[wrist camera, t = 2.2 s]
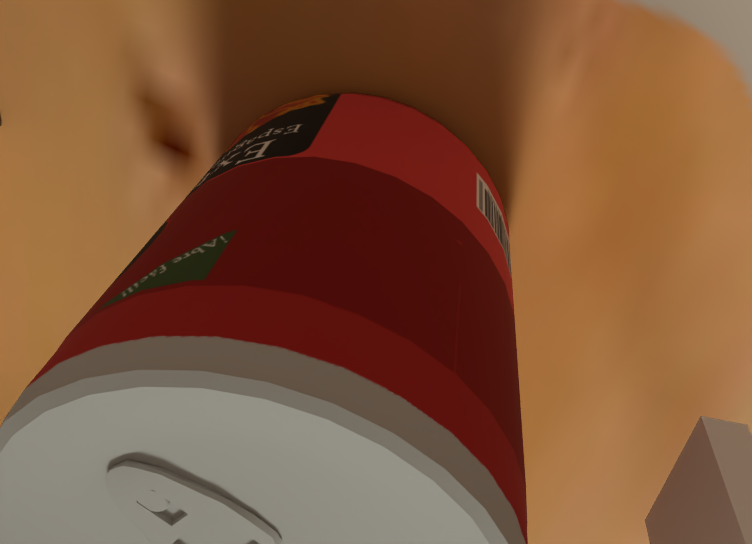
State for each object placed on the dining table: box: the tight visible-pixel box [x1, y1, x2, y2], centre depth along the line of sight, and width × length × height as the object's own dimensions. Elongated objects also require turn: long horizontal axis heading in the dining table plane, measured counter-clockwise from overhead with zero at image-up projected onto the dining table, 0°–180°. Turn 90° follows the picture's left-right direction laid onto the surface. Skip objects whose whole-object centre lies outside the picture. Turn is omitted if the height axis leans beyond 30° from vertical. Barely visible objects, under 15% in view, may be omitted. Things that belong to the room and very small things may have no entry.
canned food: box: [0, 93, 528, 544], centre depth 14 cm, size 8×8×11 cm
